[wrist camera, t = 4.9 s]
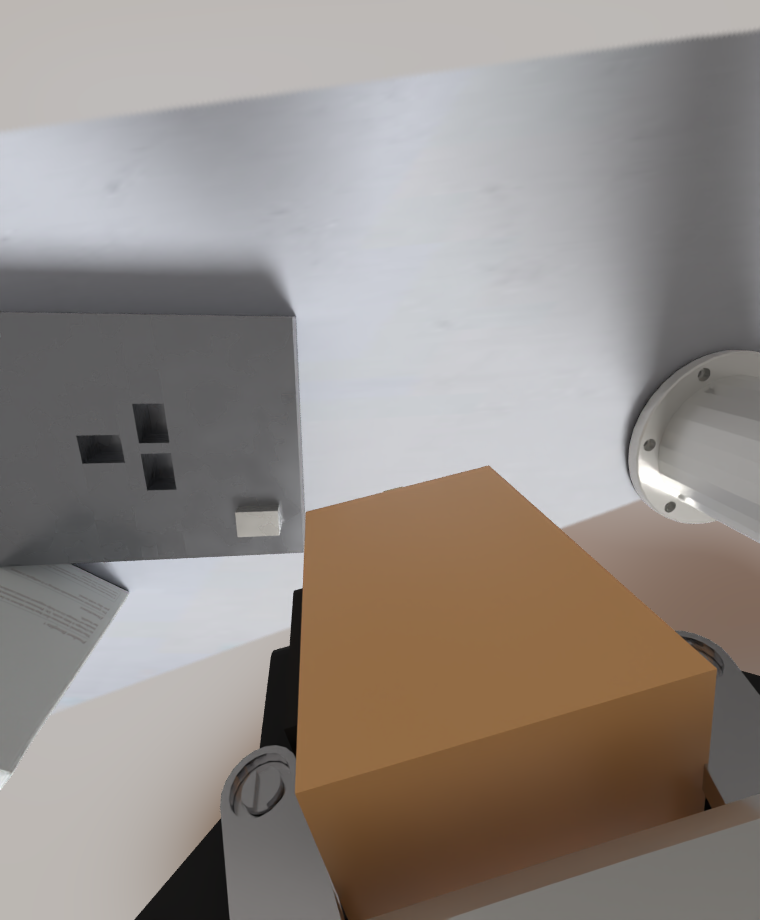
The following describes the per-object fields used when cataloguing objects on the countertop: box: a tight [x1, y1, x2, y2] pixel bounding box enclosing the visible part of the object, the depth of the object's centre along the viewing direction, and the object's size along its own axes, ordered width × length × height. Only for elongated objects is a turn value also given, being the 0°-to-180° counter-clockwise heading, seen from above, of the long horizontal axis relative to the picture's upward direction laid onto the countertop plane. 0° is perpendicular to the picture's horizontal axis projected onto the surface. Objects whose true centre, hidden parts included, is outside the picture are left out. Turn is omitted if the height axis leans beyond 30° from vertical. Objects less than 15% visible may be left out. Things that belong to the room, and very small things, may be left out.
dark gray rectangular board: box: [0, 312, 305, 567], centre depth 25 cm, size 18×14×4 cm
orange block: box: [295, 466, 717, 920], centre depth 10 cm, size 8×5×9 cm, turn 12°
